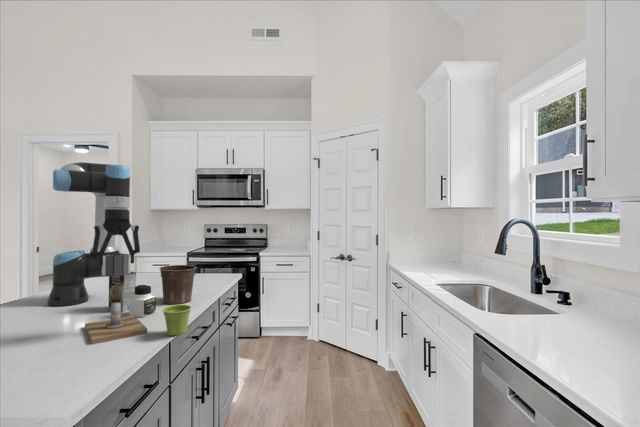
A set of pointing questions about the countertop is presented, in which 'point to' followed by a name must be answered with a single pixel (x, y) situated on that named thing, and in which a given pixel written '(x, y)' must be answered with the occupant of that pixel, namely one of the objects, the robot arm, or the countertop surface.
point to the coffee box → (122, 290)
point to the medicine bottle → (142, 302)
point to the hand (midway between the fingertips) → (116, 273)
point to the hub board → (114, 327)
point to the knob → (116, 264)
